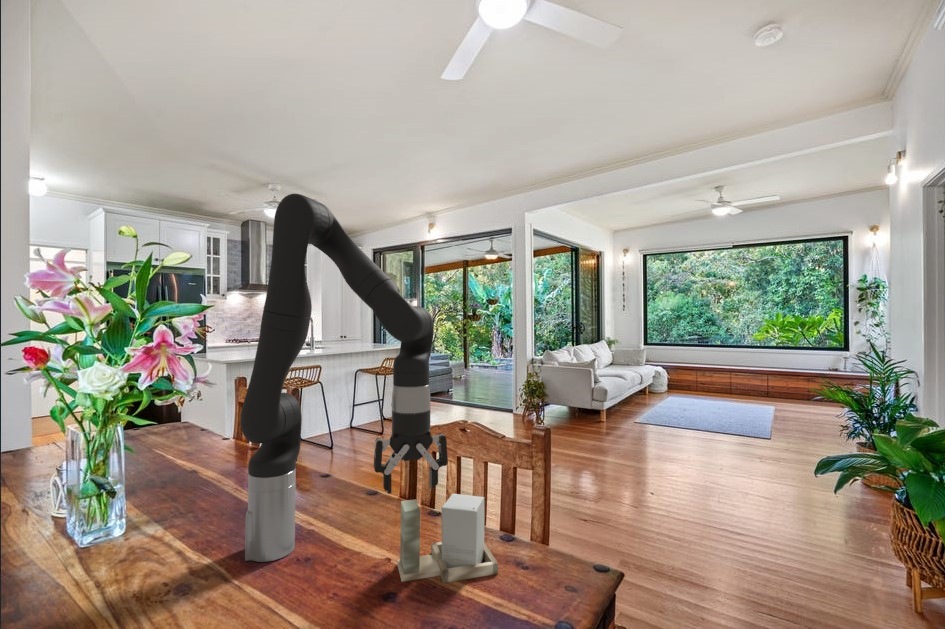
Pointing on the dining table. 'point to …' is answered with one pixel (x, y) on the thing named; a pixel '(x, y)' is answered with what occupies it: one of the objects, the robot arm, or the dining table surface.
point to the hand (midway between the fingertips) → (411, 489)
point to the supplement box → (463, 530)
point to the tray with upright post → (432, 565)
